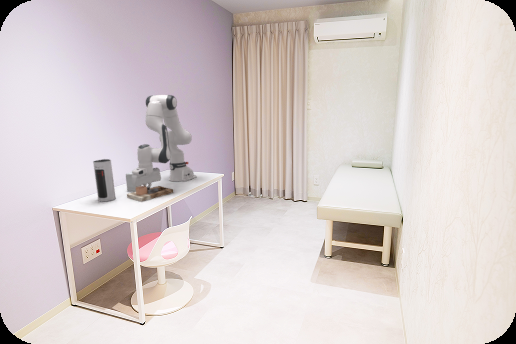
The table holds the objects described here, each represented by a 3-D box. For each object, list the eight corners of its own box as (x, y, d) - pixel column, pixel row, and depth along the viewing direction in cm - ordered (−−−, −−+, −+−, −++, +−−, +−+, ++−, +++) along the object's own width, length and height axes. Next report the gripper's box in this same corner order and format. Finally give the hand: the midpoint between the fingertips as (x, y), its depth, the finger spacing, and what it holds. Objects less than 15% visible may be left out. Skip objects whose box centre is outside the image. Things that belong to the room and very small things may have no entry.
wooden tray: (159, 189, 233) (158, 182, 232) (173, 192, 224) (172, 185, 222) (127, 197, 214) (126, 190, 213) (141, 201, 204) (140, 194, 203)
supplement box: (136, 192, 227) (134, 174, 224) (127, 191, 228) (125, 174, 226) (142, 189, 234) (140, 172, 231) (132, 188, 235) (131, 171, 233)
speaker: (94, 201, 207) (89, 161, 201) (106, 196, 217) (101, 158, 211) (107, 202, 204) (102, 161, 198) (119, 197, 213) (115, 158, 208)
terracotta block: (142, 192, 216) (142, 185, 215) (147, 193, 213) (146, 186, 212) (136, 194, 213) (135, 187, 212) (140, 195, 210) (139, 188, 209)
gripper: (156, 166, 223) (158, 185, 226) (129, 171, 207) (131, 192, 210) (162, 167, 219) (163, 187, 222) (134, 172, 203) (137, 194, 206)
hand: (147, 189), depth 216 cm, fingers closed
